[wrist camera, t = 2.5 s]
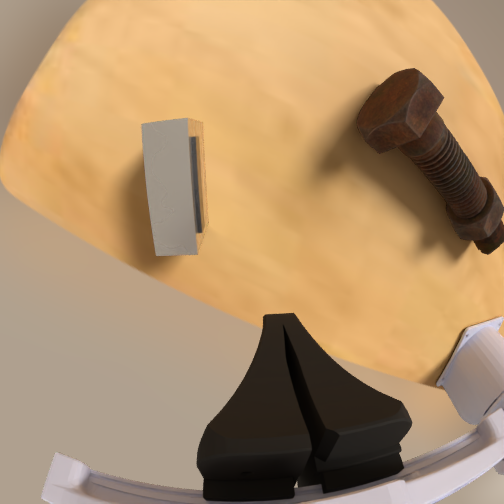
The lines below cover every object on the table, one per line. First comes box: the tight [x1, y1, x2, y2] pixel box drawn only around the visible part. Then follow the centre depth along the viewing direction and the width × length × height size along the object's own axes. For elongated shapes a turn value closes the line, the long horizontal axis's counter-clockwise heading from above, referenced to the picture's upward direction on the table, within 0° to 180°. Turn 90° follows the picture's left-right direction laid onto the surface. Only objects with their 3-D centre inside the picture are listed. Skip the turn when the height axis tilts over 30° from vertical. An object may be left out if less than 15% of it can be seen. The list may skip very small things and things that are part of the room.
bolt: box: [357, 68, 504, 255], centre depth 14 cm, size 6×5×15 cm
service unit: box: [142, 118, 209, 256], centre depth 13 cm, size 6×2×4 cm, turn 1°
